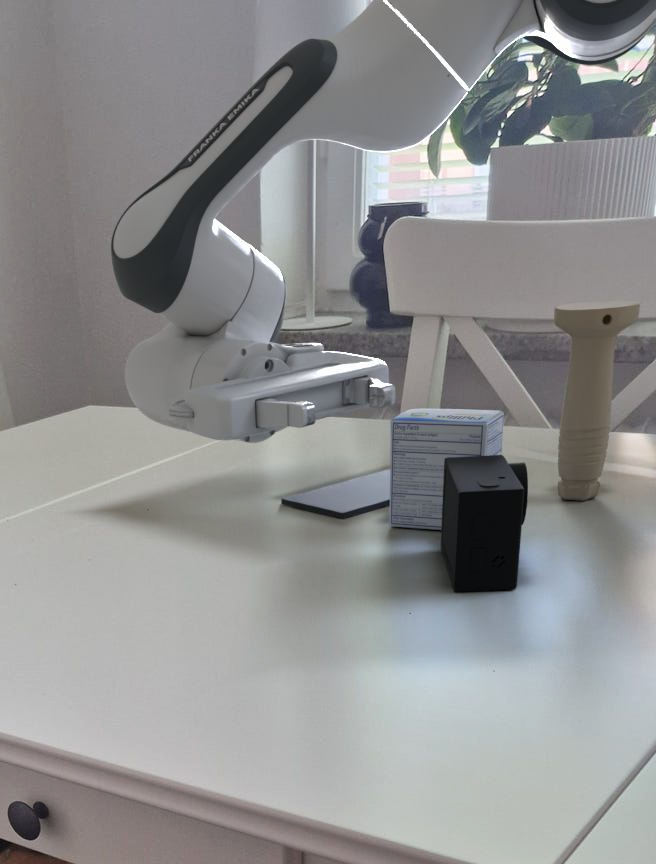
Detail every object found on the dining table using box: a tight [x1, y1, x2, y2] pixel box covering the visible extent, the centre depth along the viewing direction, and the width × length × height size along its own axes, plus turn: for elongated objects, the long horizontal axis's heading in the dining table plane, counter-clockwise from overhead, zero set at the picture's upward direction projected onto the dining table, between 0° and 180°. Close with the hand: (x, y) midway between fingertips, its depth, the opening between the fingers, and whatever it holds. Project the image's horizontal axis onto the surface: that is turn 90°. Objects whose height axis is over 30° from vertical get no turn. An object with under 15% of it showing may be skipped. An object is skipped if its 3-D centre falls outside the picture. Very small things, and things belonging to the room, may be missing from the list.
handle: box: [553, 299, 641, 502], centre depth 96 cm, size 5×6×15 cm
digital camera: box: [440, 454, 529, 593], centre depth 83 cm, size 10×5×7 cm, turn 174°
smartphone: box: [280, 468, 390, 520], centre depth 105 cm, size 14×8×1 cm, turn 127°
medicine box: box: [388, 408, 505, 531], centre depth 93 cm, size 8×4×9 cm, turn 59°
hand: (350, 406), depth 99 cm, fingers open, 8 cm apart
